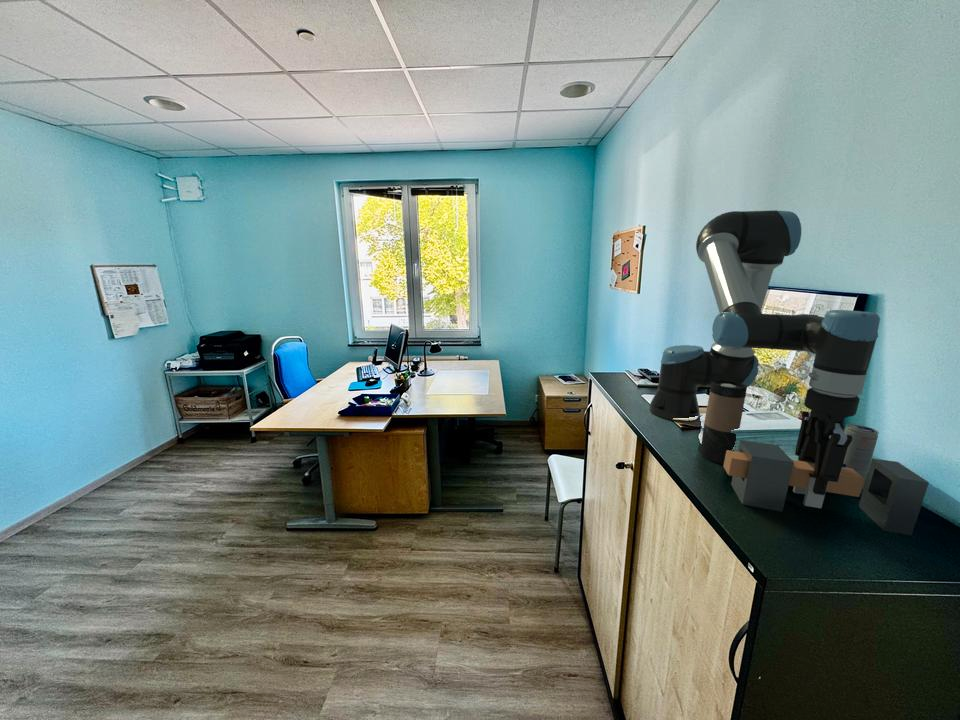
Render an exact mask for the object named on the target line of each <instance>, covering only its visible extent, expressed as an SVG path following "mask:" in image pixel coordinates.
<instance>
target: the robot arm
mask: <svg viewBox="0 0 960 720" xmlns="http://www.w3.org/2000/svg"><path fill="white" fill-rule="evenodd" d="M696 239H697V240H696V243H695V244H696V245H695V249H696V250H695V251H696V253H697V257H698V259H699V260H700V261H701V262H702V263H704V265H705V268H706V273H707V275H708V279H709V283H710V286H711V289H712V292H713V296H714V298H715V301H716V305H717V308H718V314H717V315H716V316H715V318H714V319H713V323H712V329H711V330H712V339H713V341H714V343H712V344H711V346H710V350H709V351H708V350H706V351H705V350H704V348H703V347H702V346H699V345H688V344H686V345H685V344H683V345H682V344H681V345H673V346H668V347H666V348H665V349H664V350H663V352H662V356H661V360H660V369H659V370H660V371H659V379H658V384H657V390H656V391H655V394H654V396H653V397H652V400H651V401H650V404H649V412H650V413H652V414H653V415H654V416H657V417H659V418H662V419H665V420H670V421H673V420H672V419H673V418H689V417H695V416H698V415H699V416H700V408H699V406H700V405H699V403H698V398H697V392H698V388H699V387H705V388H711V382H713V383H714V382H715V381H716V380H728V381H734V382H738V383H741V384H744V385H746V386H747V388H749V387H750V386H751V385H752V384H753V383H754V382H755V380H756V378H757V376H758V373H759V370H760V369H759V368H758V367H759V365H760V362H759V359H758V357H757V356H756V354H755V350H754V349H762V350H763V349H768V350H769V349H770V350H779V351H795V352H797V351H798V352H807V353H811V354H815V355H814V358H813V365H812V370H811V372H809V373H808V377H809V383H808V385H809V388H808V389H806V393H805V399H804V402H803V403H804V406H805V407H806V409H808V410H810V411H806V410H803V411H802V412H801V422H800V428H799V432H798V437H797V441H796V446H795V452H794V454H795V456H796V457H798V459H797V460H798V461H804V462H813V463H815V466H814V474H811V473H809V476H810V478H809V482H808V486H807V488H801V487H795V486H793V489H792V492H793V493H794V494H800V495H801V494H802V495H804V499H803V502H802V504H803V505H804V506H805V507H810V508H811V507H812V508H816V509H817V508H818V509H822V507H823V504H824V500H825V497H826V493H827V492H826V489H827V485H828V481H832V482H838V479H839V476H840V472H841V469H842V465H843V462H844V459H845V455H846V452H847V448H848V446H849V445H850V443H851V441H852V436H851V435H845V433H844V430H845V419H846V418H851V417H853V416H855V415H856V414H857V411H858V409H859V404H860V400H861V398H860V397H859V396H860V395H862V394H863V393H862V392H863V389H864V387H865V384H866V383H865V381H866V379H867V374H868V373H867V372H868V369H869V366H870V363H871V359H872V356H873V352H874V349H875V345H876V342H877V339H878V337H879V333H878V331H879V326H880V322H881V321H880V320H881V317H880V316H879V315H878V314H877V313H875V312H872V311H871V312H870V311H861V310H850V309H849V310H848V309H846V310H845V309H831V310H829V311H827V312H826V313H825V314H824V316H820V315H818V314H808V313H807V314H806V313H804V314H803V313H801V314H795V315H794V314H776V313H773V314H772V313H762V309H763V306H764V302H765V299H766V295H767V292H768V289H769V286H770V283H771V279H772V276H773V272H774V270H775V269H776V268H778V267H779V266H781V265H782V264H783V263H784V259H785V257H788V256H792V255H794V253H795V252H796V250H797V249H798V247H799V245H800V243H801V239H802V223H801V220H800V218H799V216H798V215H797V214H796V213H794V212H792V211H791V210H789V211H788V210H777V209H776V210H772V209H771V210H752V211H751V210H749V211H746V210H745V211H744V210H743V211H740V210H739V211H737V210H736V211H728V212H727V211H726V212H724V213H721V214H719V215H716V217H714V218H712V219H711V220H710V221H708V223H706V224H705V225H704V226H703V227H702V229H701V230H700V232H699V234H698V235H697V238H696Z"/></svg>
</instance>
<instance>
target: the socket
mask: <svg viewBox="0 0 960 720" xmlns="http://www.w3.org/2000/svg"><path fill="white" fill-rule="evenodd" d="M929 484H930V482H929V481H928V480H926V479H924V478H923V477H922V476H920V475H919V474H917V473H915V472H914V471H912V470H911V469H909V468H908V467H907V466H905V465H903V464H902V463H900V462H899V461H893V460H888V459H887V460H886V459H878V458H873V457H872V459H871V463H870V466H869V470H868V473H867V477H866V480H865V484H864V487H863V490H862V492H861V496H860V500H859V503H858V508H859V509H861V510H862V511H863V512H864V513H865V515H867V516H868V517H869V518H870V519H871V520H872V521H873V522H874V523H876V525H877V526H878V527H880V529H881V530H882V531H885V532H889V533H895V534H901V535H906V536H911V537H912V535H913V532H914V529H915V525H916V524H917V520H918V517H919V515H920V511H921V509H922V506H923V502H924V498H925V496H926V493H927V489H928V488H929Z"/></svg>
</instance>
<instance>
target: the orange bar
mask: <svg viewBox="0 0 960 720" xmlns="http://www.w3.org/2000/svg"><path fill="white" fill-rule="evenodd" d="M791 460H792V461H793V462H794V464H793V469H792V473H791V477H790V482H789V486H790V487H794V486H795V487H801V488H807V486H808V482H809V478H810V476H809V473H811V474H814V466H815V463H813V462H804V461H798V459H797V460H796V459H791ZM747 464H748V458H747V456H746V455H745V454H744V452H738V450H737V451H736V450H734V451H730V450H726V455H725V461H724V464H723V466H722V467H723V468H724V471H725V472H726V475H728V476H730V477H733V476H735V477H741V478H745V474H746V469H747ZM863 482H864V478H863V477H862V476H861V475H859V474H858V473H857V472H856V471H855V470H853V469H852V468H845V467H842V469H841V472H840V476H839V479H838V482H832V481H828V485H827V489H826V493H833V494H837V495H838V494H839V495H844V496H850V497H857V498H860V497H861V496H860V495H861V493H862V492H861V489H862V485H863ZM789 486H788V487H789ZM860 492H861V493H860Z"/></svg>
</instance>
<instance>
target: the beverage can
mask: <svg viewBox="0 0 960 720" xmlns="http://www.w3.org/2000/svg"><path fill="white" fill-rule="evenodd" d="M843 432H844V433H845V435H851V436H852V441H851V443H850V445H849V446H848V448H847V452H846V455H845V459H844V462H843V465H842V467H845V468H852V469H853V470H855V471H856V472H857V473H858V474H859V475H861V476H862V477H863V478H864V482H863V485H862V489H861V492H860V494H862V493H863V489H864V486H865V482H866V479H867V475H868V472H869V468H870V465H871V461H872V458H873V455H874V451H875V448H876V445H877V441H878V438H879V435H878V434H880V432H879V430H877V429H875V428H874V427H873V428H872V427H869V426H866V425H861V424H855V423H848V424H845V427H844V430H843Z"/></svg>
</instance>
